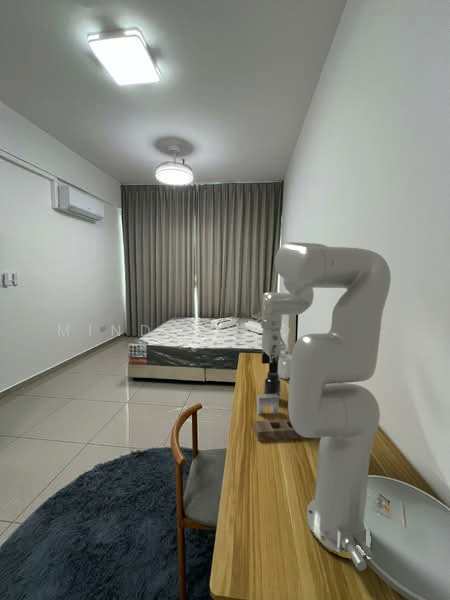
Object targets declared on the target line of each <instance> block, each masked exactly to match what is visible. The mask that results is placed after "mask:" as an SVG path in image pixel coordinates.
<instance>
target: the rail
mask: <svg viewBox="0 0 450 600" xmlns="http://www.w3.org/2000/svg"><path fill="white" fill-rule="evenodd" d="M253 432H254V434H255V437H256V439H257V441H272V440H273V441H274V440H291V439H292V440H293V439H308V438H307V437H303V436H301V435H299V434H298V433H297V432H296V431H295V430H294V428H293V427H292V425H291V422H290V419H275V420H274V419H272V420H271V419H270V420H253Z"/></svg>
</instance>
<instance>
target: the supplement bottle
mask: <svg viewBox="0 0 450 600" xmlns="http://www.w3.org/2000/svg"><path fill="white" fill-rule="evenodd" d="M266 373H267V375H266V378H264V390H263V394H277V395H278V396H279V401H280V398H281V380H280V378H279V374H278V373H269V371H268V372H266Z"/></svg>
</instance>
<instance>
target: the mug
mask: <svg viewBox="0 0 450 600" xmlns="http://www.w3.org/2000/svg"><path fill="white" fill-rule="evenodd" d="M291 358H292V355H290V354H284V353H281V355H280V356H279V360H278V361H279V362H278V374H279V378H278V379H281V378H283V379H282V380H289V379H288V378H290V370H291Z"/></svg>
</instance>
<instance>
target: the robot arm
mask: <svg viewBox="0 0 450 600" xmlns="http://www.w3.org/2000/svg"><path fill="white" fill-rule="evenodd" d="M274 259H275V260H274V267H275V270H276V272H277V274H278V275H279V276H280V277H282V278H283V286H284V288H285V290H286V291H287V292H288V293H286V292H283V293H281V292H274V291H270V292H269V291H268V292H267V291H266V292H264V293H263V294H262V303H261V305H262V306H261V307H262V308H261V322H260V323H261V329H262V336H261V339H262V340H261V348H262V349H261V350H262V352H261V364H263V365H264V364H267V365H268V372H269V373H278V362H279V361H278V360H279V356H280V355H281V354H282V336H281V335H282V334H281V330H282V320H283V316H284V315H287V316H289V315H290V316H296V315H301V314H303V313H305V312H306V311H307V310H308V309H309V308H311V306H312V304H313V301H314V293H315V292H314V289H315V288H316V289H317V288H319V289H320V288H323V289H346V291H345V292H344V293H343V294H342V295H341V296H340V298H339V299H338V300H337V302H336V303H335V305H334V307H333V310H332V312H331V313H332V315H331V316H332V317H331V326H330V330H329V331H328V332H326V333H308V334H305V335H302V336H300V337H299V338H298V339H297V340H296V342H295V343H294V346H293V348H292V353H291V356H292V358H291V370H290V379H289V387H288V402H287V405H288V407H287V409H288V417H289V420H290V422H291V425H292V427H293V428H294V430H295V431H296V432H297V433H298V434H299V435H301V436H303V437H307V438H306V439H310V438H311V439H315V438H320V439H319V444H318V451H317V465H316V481H315V493H314V494H315V497H314V499H312V500H311V501H310V502H309V503H308V506H307V509H306V522H308V523H307V525H309V526H308V528H309V527H310V529H311V530H312V532H313V533H314V535H315V536H316V537H317V538H318V539H319V540H320V541H321V542H322V543H323V544H324V545H325V546H327V547H328V548H330V549H331V550H334V551H336V552H340V553H341V552H342V551H343V550H344V549H345V550H344V551H346V552H349V554H350V556H351V558H352V559H351V560H352V562H353V563H354V565H355V568H356V569H357V570H358V571H359V572H360V571H361V572H363V571H365V570H366V569H367V562H366V560H365V557H362V555H361V553H360V552H359V551H358V549H357V548H356V545H359V546H360V547H361V549H362V550H363V551H364V553H365V554H366V556H368V557H370V558H372V559H374V553H373V552H372V550H371V548H370V549H369V547H368V546H367V545H366V531H367V530H366V529H365V527H364V520H365V514H366V506H367V505H366V504H367V492H368V479H369V469H370V461H371V460H370V459H371V452H372V446H373V443H374V440H375V435H376V433H377V431H378V428H379V424H380V419H381V417H380V416H381V410H380V406H379V403H378V401H377V398H376V397H375V395H374V393H372V392H371V391H370V390H368V389H367V388H366V387H364V386H362V385H359V384H356V383H358V382H365V381H368V380H369V379H371V378H372V377H373V376H374V374H375V371H376V367H377V361H378V356H379V346H380V336H381V329H382V319H383V313H384V308H385V305H386V302H387V299H388V295H389V291H390V287H391V270H390V267H389V264H388V262H387V261H386V260H385V258H384V257H383V256H382V255H381V254H379V253H377V252H376V251H373V250H370V249H367V248H366V249H364V248H359V247H358V248H357V247H345V246H342V247H341V246H328V245H325V244H321V243H315V242H313V243H312V242H295V241H294V242H293V241H292V242H291V241H290V242H286V243H284V244H282V245H281V246H280V247H279V249H278V251H277V252H276V255H275V258H274ZM310 529H309V530H310ZM321 537H324V538H325V540H322V539H321ZM342 553H343V552H342Z"/></svg>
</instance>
